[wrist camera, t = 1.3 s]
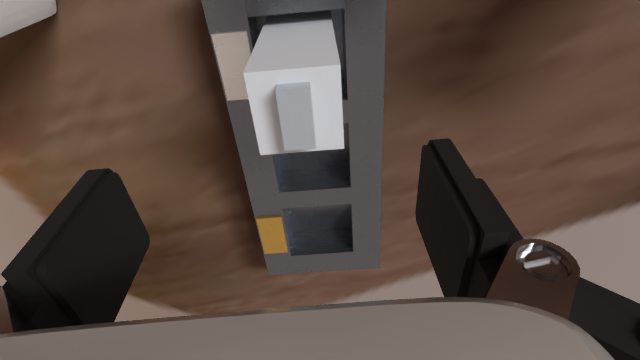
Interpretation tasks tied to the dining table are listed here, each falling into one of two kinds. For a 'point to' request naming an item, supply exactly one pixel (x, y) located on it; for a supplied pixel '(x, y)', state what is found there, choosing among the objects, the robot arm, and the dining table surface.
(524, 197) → the dining table surface
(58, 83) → the dining table surface
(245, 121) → the socket panel
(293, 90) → the plug
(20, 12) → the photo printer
